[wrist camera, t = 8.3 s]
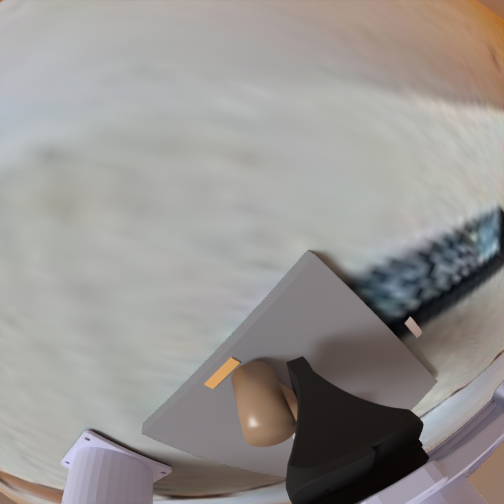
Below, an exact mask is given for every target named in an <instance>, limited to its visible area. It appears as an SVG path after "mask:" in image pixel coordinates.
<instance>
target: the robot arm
mask: <svg viewBox="0 0 504 504" xmlns="http://www.w3.org/2000/svg"><path fill="white" fill-rule="evenodd" d="M286 364H287V368H288V372H289V376H290V381H291V385H292V389H293V391H294V394H295V396H296V398H297V403H298V406H297V423H296V431H295V437H294V442H293V446H292V451H291V454H290V457H289V461H288V464H287V475H286V490H287V493H288V496H289V499H290V501H291V502H292V504H488V503H487V502H486V500H485V499H484V498H483V497H482V496H481V495H480V493H479V492H478V491H477V490H476V489H475V488H474V486H473V485H472V484H471V483H470V482H469V480H468V479H467V478H468V477H469V476H470V475H471V474H472V473H474V472H475V471H476V470H477V469H478V468H479V467H480V466H481V465H482V464H483V463H484V462H485V461H486V460H487V459H488V458H489V457H490V456H491V455H492V454H493V453H494V451H495V450H496V449H497V448H498V447H499V446H500V445H501V444H502V443H503V442H504V380H503V381H502V383H501V384H500V385H499V386H498V387H497V389H496V390H495V392H494V394H493V396H492V399H491V400H490V401H489V402H488V403H487V404H486V405H485V406H484V407H483V408H482V409H481V410H480V411H479V412H477V413H476V414H475V415H474V416H473V417H472V418H471V419H470V420H469V421H468V422H466V423H465V424H464V425H463V426H462V427H461V428H459V429H458V430H457V431H456V432H455V433H453V434H452V435H451V436H450V437H448V438H447V439H446V440H445V441H443V442H442V443H441V444H439V445H438V446H437V447H435V448H434V449H433V450H431V451H430V452H428V453H426V452H425V451H424V450H423V448H422V443H421V442H420V440H419V437H420V435H421V432H422V429H423V425H424V424H423V422H422V421H421V420H420V418H419V417H418V416H416V415H415V414H414V413H413V412H412V411H410V410H409V409H402V408H395V407H389V406H385V405H380V404H377V403H374V402H371V401H367V400H364V399H362V398H359V397H357V396H354V395H352V394H350V393H348V392H346V391H344V390H342V389H340V388H338V387H337V386H335V385H333V384H332V383H330V382H329V381H327V380H326V379H324V378H323V377H321V376H320V375H318V374H317V373H316V372H315V371H313V369H312V367H311V366H310V364H309V363H308V361H307V360H306V359H305V358H304V357H303V356H302V357H299V358H296V359H294V360H291V361H288V362H286ZM61 464H62V465H63V466H65V467H66V468H68V469H69V473H68V477H67V481H66V485H65V489H64V494H63V499H62V503H61V504H153V483H154V482H156V481H158V480H160V479H161V478H163V477H165V476H166V475H168V474H170V473H171V472H172V468H171V467H170V466H167V465H165V464H162V463H159V462H157V461H154V460H151V459H149V458H146V457H144V456H142V455H139V454H137V453H135V452H132V451H130V450H128V449H126V448H124V447H122V446H119V445H117V444H115V443H113V442H111V441H109V440H107V439H105V438H104V437H102V436H100V435H98V434H96V433H94V432H93V431H90V430H85V431H84V433H83V434H82V435H81V436H80V438H79V439H78V440H77V441H76V443H75V444H74V445H73V446H72V448H71V449H70V450H69V452H68V453H67V454H66V455H65V457H64V458H63V459H62V461H61Z"/></svg>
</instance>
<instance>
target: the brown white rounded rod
mask: <svg viewBox="0 0 504 504" xmlns="http://www.w3.org/2000/svg"><path fill="white" fill-rule="evenodd" d="M231 383H232V387H233V392H234V397H235V401H236V406H237V410H238V414H239V419H240V423H241V427H242V432H243V436H244V439H245V441H246V442H247V443H248V444H250V445H252V446H256V447H269V446H274V445H277V444H280V443H282V442H284V441H286V440H288V439H289V438H290V437H293V439H294V437H295V431H296V423H297V406H298V403H297V398H296V396H295V394H294V392H293V391H292V390H290V389H289V388H287V387H286V386H285V385H283V384H282V383H280V382H279V381H278V379H277V377H276V374H275V372H274V370H273V368H272V367H271V366H270V365H269V364H267V363H264V362H258V361H255V362H249V363H246V364H243V365H241V366H240V367H238V368H237V369H236V370H235V371H234V373H233V375H232V377H231Z"/></svg>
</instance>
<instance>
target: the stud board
mask: <svg viewBox="0 0 504 504" xmlns="http://www.w3.org/2000/svg"><path fill="white" fill-rule="evenodd" d="M405 324H406V326H407V327H408V328H409V329H410V331H411V332H412V333H413V334H414V335H415V337H416V338H418V337H419V336H420V335H421V333H422V331H421V329H420V328H419V327H418V326H417V324H416V323H415V322H414V320H413V319H412V318H411V317H409V319H408V320H407V321H406V322H405ZM302 356H303V357H304V358H305V359H306V360H307V361H308V363H309V364H310V366H311V367H312V369H313V371H315V372H316V373H317V374H318V375H320V376H321V377H323V378H324V379H326V380H327V381H329V382H330V383H332V384H333V385H335V386H337V387H338V388H340V389H342V390H344V391H346V392H348V393H350V394H352V395H354V396H357V397H359V398H362V399H364V400H367V401H371V402H374V403H377V404H380V405H385V406H389V407H395V408H402V409H409V410H410V411H411V410H412V409H413V408H414V407H415V406H416V405H417V404H418V403H419V401H420V400H421V399H422V398H423V397H424V396H425V395H426V394H427V393H428V392H429V391H430V390H431V388H432V387H433V386H434V385H435V384H436V383H437V382H438V381H437V380H436V379H435V378H434V377H433V376H432V374H431V373H430V372H429V371H428V370H427V369H426V368H425V367H424V366H423V364H422V363H421V362H420V361H419V360H418V359H417V358H416V357H415V356H414V355H413V354H412V352H411V351H410V350H409V349H408V348H407V347H406V346H405V345H404V344H403V343H402V342H401V341H400V340H399V339H398V337H397V336H396V335H395V334H394V333H393V332H392V331H391V330H390V329H389V328H388V327H387V326H386V325H385V324H384V323H383V322H382V321H381V320H380V319H379V318H378V317H377V316H376V314H375V313H374V312H373V311H372V310H371V309H370V308H369V307H368V306H367V305H366V304H365V303H364V302H363V301H362V300H361V299H360V298H359V297H358V296H357V295H356V294H355V293H354V292H353V291H352V290H351V289H350V288H349V287H348V286H347V285H346V284H345V283H344V282H343V281H342V280H341V279H340V278H339V277H338V276H337V275H336V274H335V273H334V272H333V271H332V270H330V269H329V268H328V267H327V266H326V265H325V264H324V263H323V262H322V261H321V260H320V259H319V258H318V257H317V256H316V255H315V254H313V253H312V252H310V251H308V250H307V252H306V253H305V254H304V255H303V256H302V257H301V259H300V260H299V261H298V262H297V263H296V264H295V265H294V267H293V268H292V269H291V270H290V271H289V272H288V273H287V275H286V276H285V277H284V278H283V279H282V280H281V281H280V282H279V284H278V285H277V286H276V287H275V288H274V289H273V290H272V291H271V293H270V294H269V295H268V296H267V297H266V298H265V299H264V300H263V301H262V302H261V304H260V305H259V306H258V307H257V308H256V309H255V310H254V311H253V312H252V313H251V314H250V316H249V317H248V318H247V319H246V320H245V321H244V322H243V323H242V324H241V325H240V326H239V327H238V328H237V330H236V331H235V332H234V333H233V334H232V335H231V336H230V337H229V338H228V339H227V340H226V341H225V342H224V343H223V344H222V345H221V346H220V348H219V349H218V350H217V351H216V352H215V353H214V354H213V355H212V356H211V357H210V358H209V359H208V360H207V361H206V362H205V363H204V364H203V365H202V366H201V367H200V368H199V369H198V370H197V371H196V372H195V373H194V374H193V375H192V376H191V377H190V378H189V379H188V380H187V381H186V382H185V383H184V384H183V385H182V386H181V387H180V388H179V389H178V390H177V391H176V392H175V393H174V394H173V395H172V396H171V397H170V398H169V399H168V400H167V401H166V402H165V403H164V404H163V405H162V406H161V407H160V408H159V409H158V410H157V411H156V412H155V413H154V414H153V415H152V416H150V417H149V418H148V419H147V420H146V421H145V422H144V423H143V428H142V434H143V435H146V436H148V437H150V438H152V439H154V440H157V441H159V442H161V443H164V444H166V445H169V446H171V447H174V448H176V449H179V450H181V451H184V452H187V453H190V454H192V455H195V456H198V457H201V458H204V459H207V460H211V461H214V462H217V463H221V464H224V465H228V466H231V467H235V468H239V469H243V470H247V471H252V472H256V473H261V474H266V475H271V476H277V477H282V478H286V475H287V464H288V461H289V457H290V454H291V451H292V446H293V442H294V439H293V437H290V438H289V439H288V440H286V441H284V442H282V443H280V444H277V445H274V446H269V447H256V446H252V445H250V444H248V443H247V442H246V441H245V439H244V436H243V432H242V427H241V423H240V419H239V414H238V410H237V406H236V401H235V397H234V392H233V387H232V383H231V377H232V375H233V373H234V371H235V370H236V369H237V368H238V367H240V366H241V365H243V364H246V363H249V362H255V361H258V362H264V363H267V364H269V365H270V366H271V367H272V368H273V370H274V372H275V374H276V377H277V379H278V381H279V382H280V383H282V384H283V385H285V386H286V387H287V388H289V389H290V390H292V391H293V389H292V385H291V381H290V376H289V372H288V368H287V364H286V362H288V361H291V360H294V359H296V358H299V357H302ZM293 392H294V391H293Z"/></svg>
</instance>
